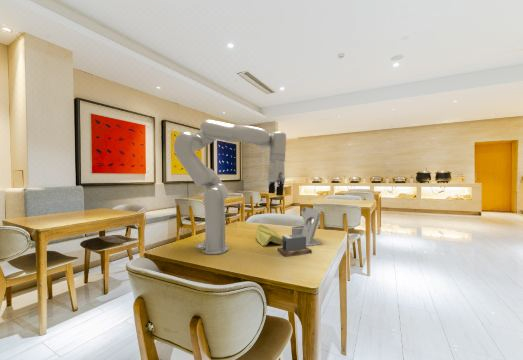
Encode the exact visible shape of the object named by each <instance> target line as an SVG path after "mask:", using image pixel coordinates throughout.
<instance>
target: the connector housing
mask: <svg viewBox="0 0 523 360" xmlns="http://www.w3.org/2000/svg"><path fill="white" fill-rule="evenodd" d="M281 237H282V244H281V248H282V249H286V251H287V252H289V251H296V250H304V249H306V247H307V246H306V236H304V235H302V234H298V235H292V234H290V235H287V234H286V235H285V234H284V235H282V236H281Z"/></svg>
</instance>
